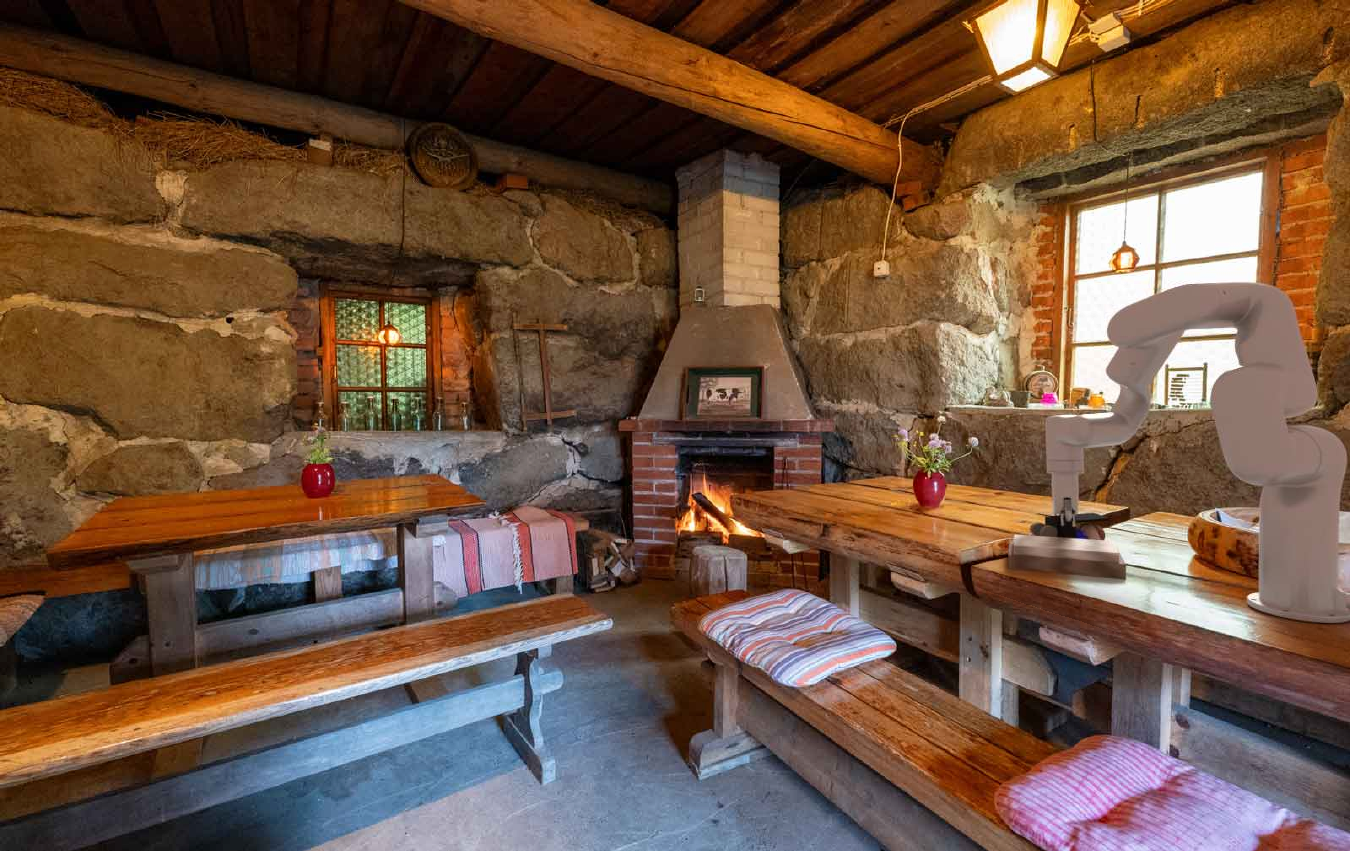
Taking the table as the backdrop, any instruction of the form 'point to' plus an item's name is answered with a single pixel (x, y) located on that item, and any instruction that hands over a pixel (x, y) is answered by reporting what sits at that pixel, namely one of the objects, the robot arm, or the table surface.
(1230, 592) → the table surface
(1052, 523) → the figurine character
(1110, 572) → the plinth
